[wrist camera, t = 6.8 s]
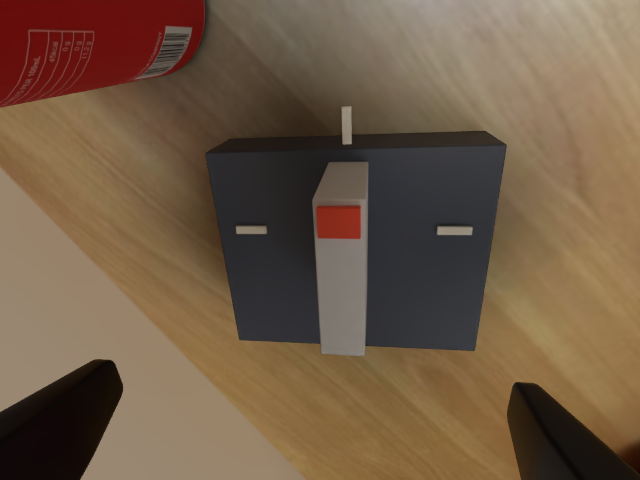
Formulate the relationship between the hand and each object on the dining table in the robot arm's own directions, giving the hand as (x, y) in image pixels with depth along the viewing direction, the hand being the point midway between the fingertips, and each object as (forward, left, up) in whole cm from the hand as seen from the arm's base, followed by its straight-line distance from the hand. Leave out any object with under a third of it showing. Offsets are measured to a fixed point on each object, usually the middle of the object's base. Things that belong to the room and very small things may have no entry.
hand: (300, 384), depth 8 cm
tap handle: (0, +1, -9) cm, 9 cm away
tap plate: (+2, 0, -12) cm, 12 cm away
